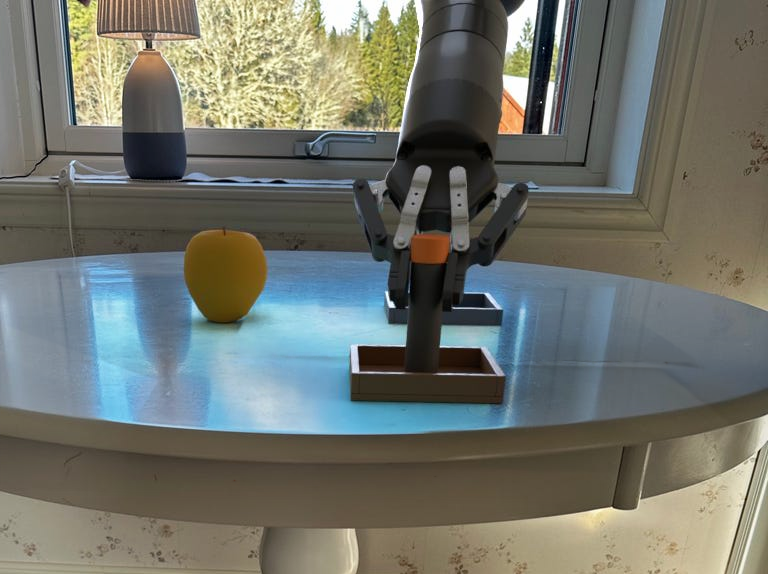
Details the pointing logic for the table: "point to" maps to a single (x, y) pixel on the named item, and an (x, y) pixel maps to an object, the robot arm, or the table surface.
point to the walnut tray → (425, 376)
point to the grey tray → (456, 311)
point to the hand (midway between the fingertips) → (423, 303)
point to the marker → (425, 302)
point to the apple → (224, 273)
